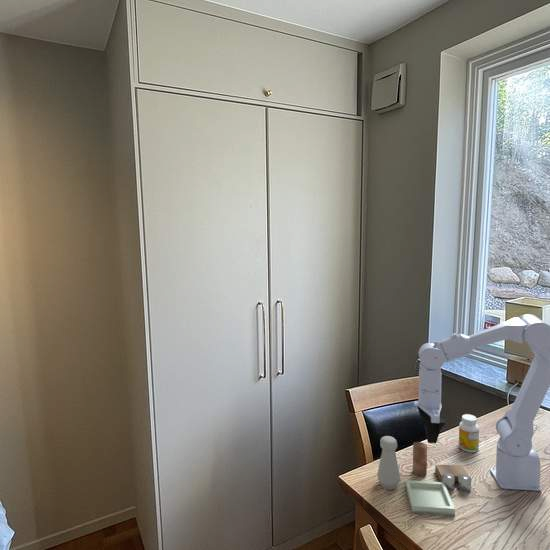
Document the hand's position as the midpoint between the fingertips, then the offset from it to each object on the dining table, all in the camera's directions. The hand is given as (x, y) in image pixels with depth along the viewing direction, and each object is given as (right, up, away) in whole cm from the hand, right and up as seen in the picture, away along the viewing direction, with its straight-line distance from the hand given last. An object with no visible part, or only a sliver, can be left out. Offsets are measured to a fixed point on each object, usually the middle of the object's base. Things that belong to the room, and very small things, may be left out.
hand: (428, 434), depth 110 cm
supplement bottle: (+16, -8, +11) cm, 21 cm away
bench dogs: (+4, -11, -7) cm, 14 cm away
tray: (-4, -12, -11) cm, 17 cm away
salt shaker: (-12, -12, -5) cm, 18 cm away
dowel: (-3, -10, 0) cm, 11 cm away
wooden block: (+5, -11, -3) cm, 12 cm away
